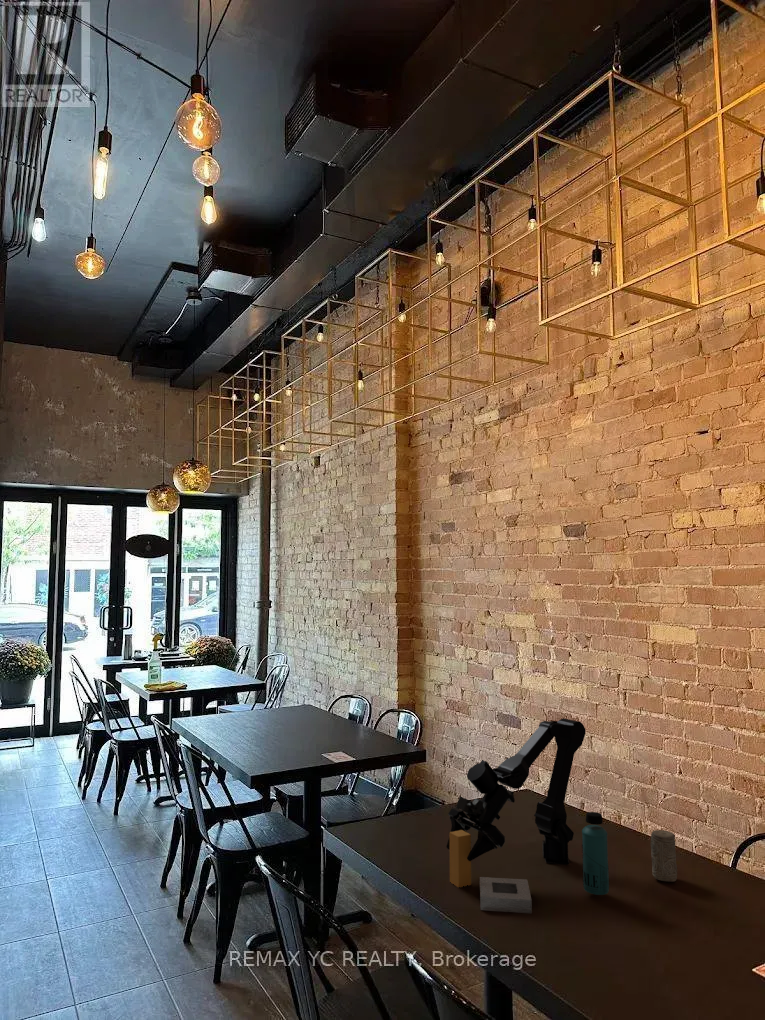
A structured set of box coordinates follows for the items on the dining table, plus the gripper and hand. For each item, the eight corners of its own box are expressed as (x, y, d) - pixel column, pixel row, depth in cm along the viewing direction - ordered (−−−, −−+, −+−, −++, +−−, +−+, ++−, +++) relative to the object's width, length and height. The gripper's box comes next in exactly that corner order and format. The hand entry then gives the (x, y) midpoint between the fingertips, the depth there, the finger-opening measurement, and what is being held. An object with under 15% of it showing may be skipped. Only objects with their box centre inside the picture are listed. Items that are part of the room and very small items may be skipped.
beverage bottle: (610, 892, 177) (607, 810, 180) (609, 903, 171) (607, 818, 173) (583, 889, 179) (581, 807, 182) (582, 899, 173) (580, 815, 175)
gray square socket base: (527, 892, 177) (527, 879, 178) (531, 913, 165) (531, 900, 166) (479, 889, 179) (479, 876, 179) (480, 910, 167) (480, 896, 167)
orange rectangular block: (462, 879, 185) (461, 829, 186) (471, 884, 181) (470, 834, 183) (449, 882, 183) (449, 832, 184) (458, 887, 180) (458, 836, 181)
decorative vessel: (678, 876, 188) (676, 830, 189) (677, 887, 181) (675, 838, 182) (653, 872, 190) (651, 826, 192) (651, 882, 183) (649, 835, 185)
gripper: (453, 777, 195) (420, 824, 189) (496, 794, 179) (461, 846, 173) (476, 802, 198) (444, 850, 192) (520, 821, 182) (486, 874, 175)
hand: (457, 854), depth 183 cm, fingers open, 9 cm apart
